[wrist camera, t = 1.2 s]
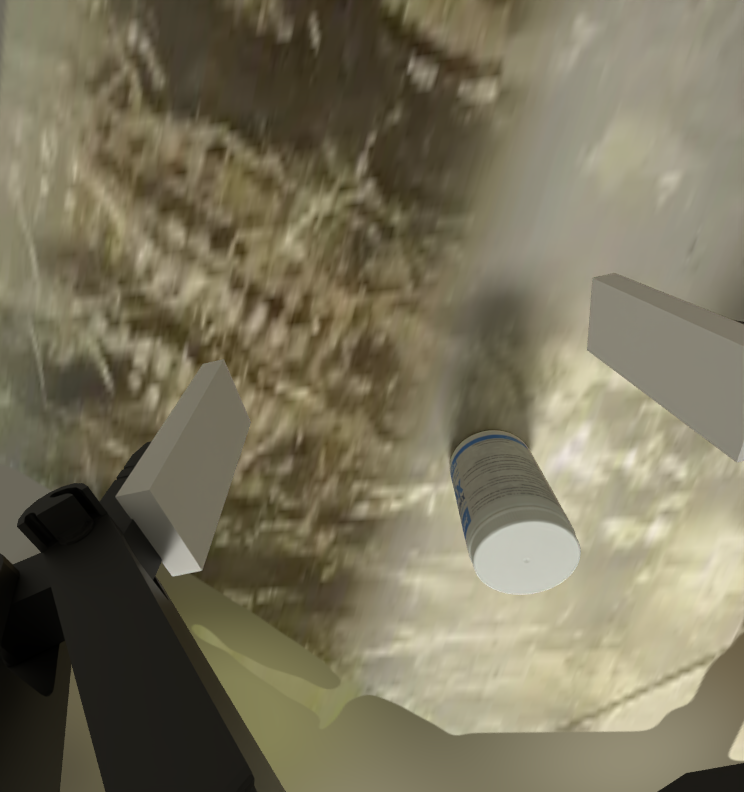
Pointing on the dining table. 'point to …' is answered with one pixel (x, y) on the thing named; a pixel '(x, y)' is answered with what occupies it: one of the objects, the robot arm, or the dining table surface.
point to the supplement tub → (511, 516)
